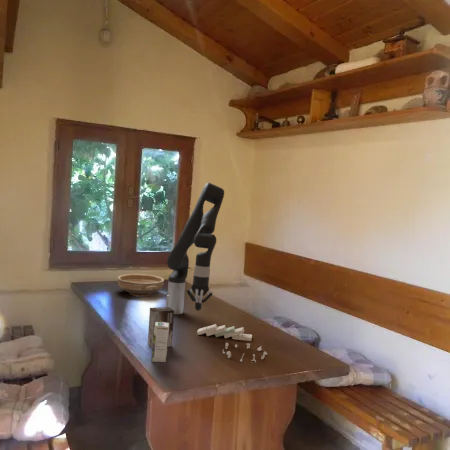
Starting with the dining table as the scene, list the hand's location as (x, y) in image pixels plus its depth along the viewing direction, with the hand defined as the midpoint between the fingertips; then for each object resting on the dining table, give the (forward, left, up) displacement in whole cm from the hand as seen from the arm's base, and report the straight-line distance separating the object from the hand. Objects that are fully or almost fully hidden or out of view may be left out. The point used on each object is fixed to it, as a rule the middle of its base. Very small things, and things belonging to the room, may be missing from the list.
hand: (197, 310), depth 231 cm
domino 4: (+14, -3, -10) cm, 18 cm away
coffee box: (-13, -24, -11) cm, 30 cm away
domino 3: (+10, -3, -10) cm, 14 cm away
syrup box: (-10, -41, -11) cm, 44 cm away
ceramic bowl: (-42, +66, -11) cm, 79 cm away
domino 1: (+1, -3, -10) cm, 10 cm away
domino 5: (+18, -3, -10) cm, 21 cm away
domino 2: (+5, -3, -10) cm, 12 cm away
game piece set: (+24, -25, -11) cm, 36 cm away
